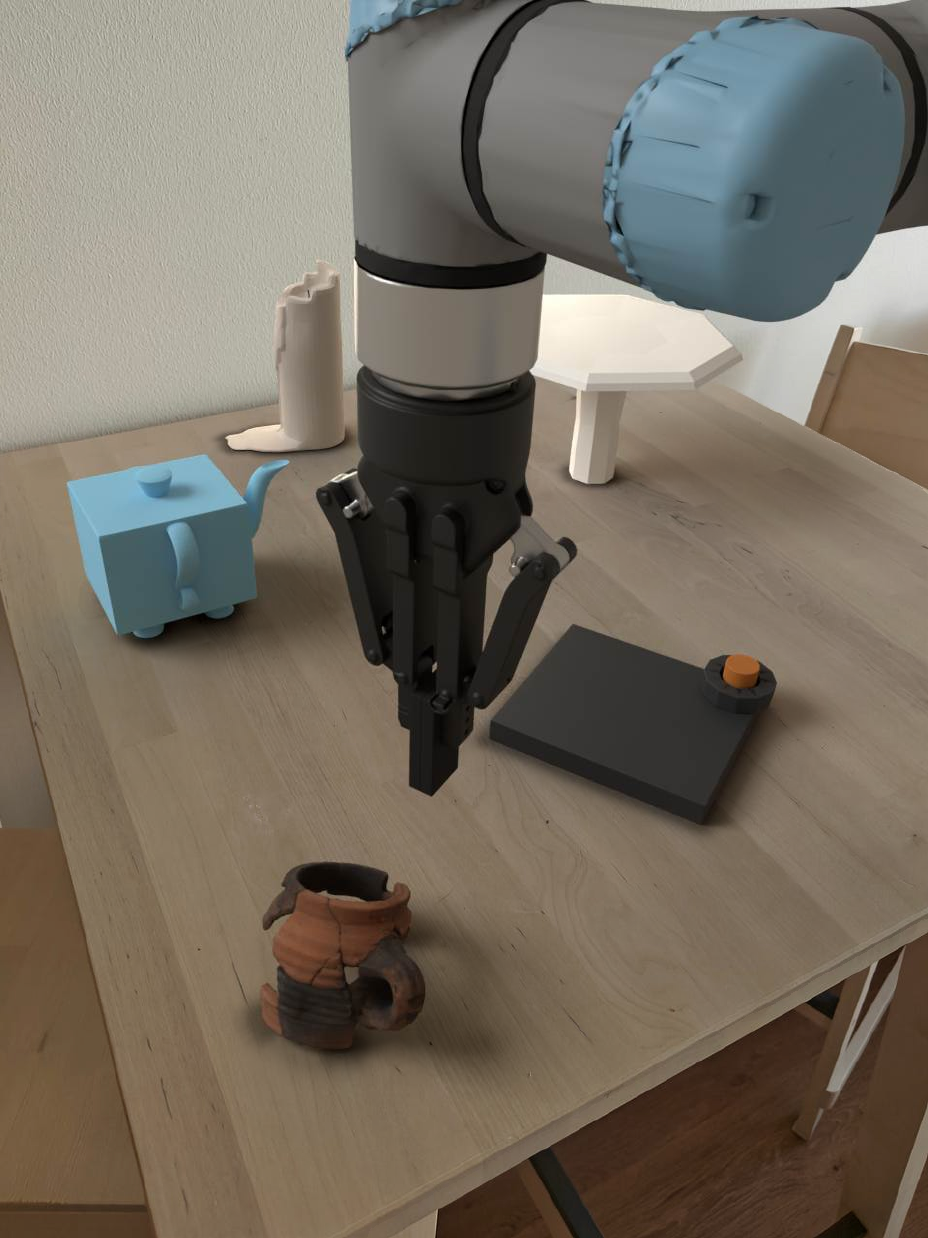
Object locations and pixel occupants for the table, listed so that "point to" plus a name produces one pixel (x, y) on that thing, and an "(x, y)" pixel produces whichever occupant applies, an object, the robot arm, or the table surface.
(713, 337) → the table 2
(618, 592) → the table surface
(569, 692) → the scale
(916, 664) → the table surface
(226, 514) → the teapot
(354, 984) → the pottery mug
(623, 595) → the table surface
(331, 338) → the candle
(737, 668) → the scale button
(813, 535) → the table surface
